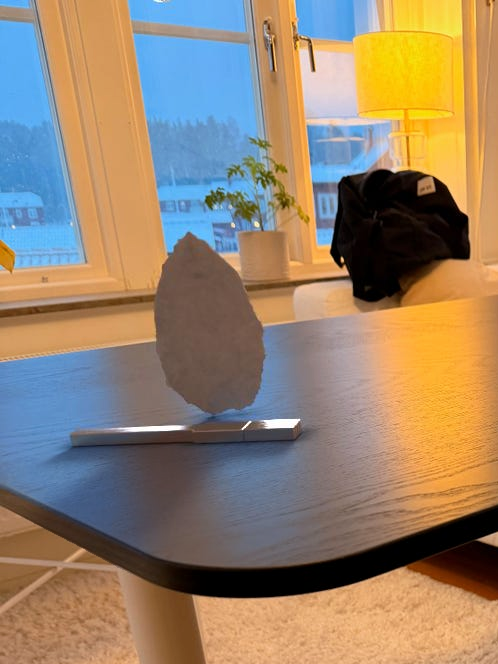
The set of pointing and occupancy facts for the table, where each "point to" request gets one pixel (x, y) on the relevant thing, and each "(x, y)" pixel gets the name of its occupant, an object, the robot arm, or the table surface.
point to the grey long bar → (191, 433)
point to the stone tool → (207, 329)
